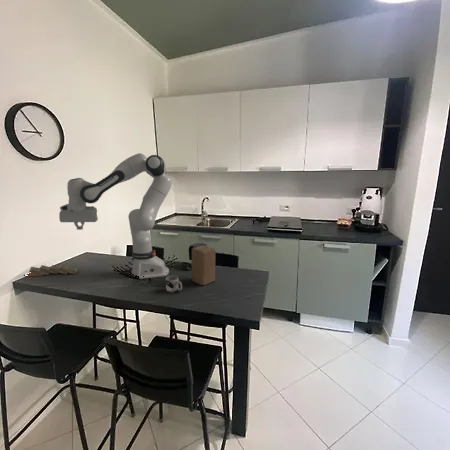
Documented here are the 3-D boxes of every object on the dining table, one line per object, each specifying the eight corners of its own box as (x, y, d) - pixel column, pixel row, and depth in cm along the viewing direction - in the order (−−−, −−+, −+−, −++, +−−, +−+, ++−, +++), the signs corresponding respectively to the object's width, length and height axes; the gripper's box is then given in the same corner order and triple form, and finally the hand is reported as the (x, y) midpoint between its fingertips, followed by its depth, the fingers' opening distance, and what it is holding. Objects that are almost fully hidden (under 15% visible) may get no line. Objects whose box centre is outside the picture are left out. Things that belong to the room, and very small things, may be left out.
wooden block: (215, 281, 162) (216, 248, 158) (202, 286, 155) (203, 252, 150) (203, 276, 168) (204, 244, 164) (191, 281, 161) (190, 248, 157)
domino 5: (78, 269, 172) (61, 264, 170) (75, 271, 168) (58, 267, 166) (77, 271, 172) (60, 267, 170) (75, 274, 168) (57, 269, 166)
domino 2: (50, 269, 169) (31, 266, 165) (49, 272, 166) (29, 269, 161) (49, 272, 170) (30, 269, 165) (48, 275, 166) (29, 271, 162)
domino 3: (60, 269, 171) (41, 265, 168) (58, 271, 168) (39, 267, 164) (59, 271, 172) (41, 267, 168) (57, 274, 168) (38, 270, 164)
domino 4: (70, 269, 171) (52, 265, 169) (67, 272, 168) (49, 267, 166) (69, 271, 172) (52, 267, 170) (66, 274, 168) (49, 269, 166)
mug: (163, 290, 150) (163, 278, 148) (171, 285, 155) (171, 274, 154) (177, 295, 144) (177, 283, 143) (185, 290, 150) (185, 278, 149)
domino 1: (45, 271, 169) (26, 272, 167) (42, 273, 165) (23, 274, 163) (45, 273, 169) (27, 274, 167) (42, 276, 166) (24, 277, 164)
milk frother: (209, 264, 188) (209, 243, 185) (199, 273, 173) (199, 250, 170) (190, 262, 193) (189, 241, 189) (178, 270, 178) (178, 247, 175)
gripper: (98, 205, 167) (100, 228, 170) (61, 205, 164) (64, 228, 167) (94, 207, 161) (96, 230, 164) (56, 207, 158) (59, 230, 161)
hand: (79, 229), depth 165 cm, fingers closed
